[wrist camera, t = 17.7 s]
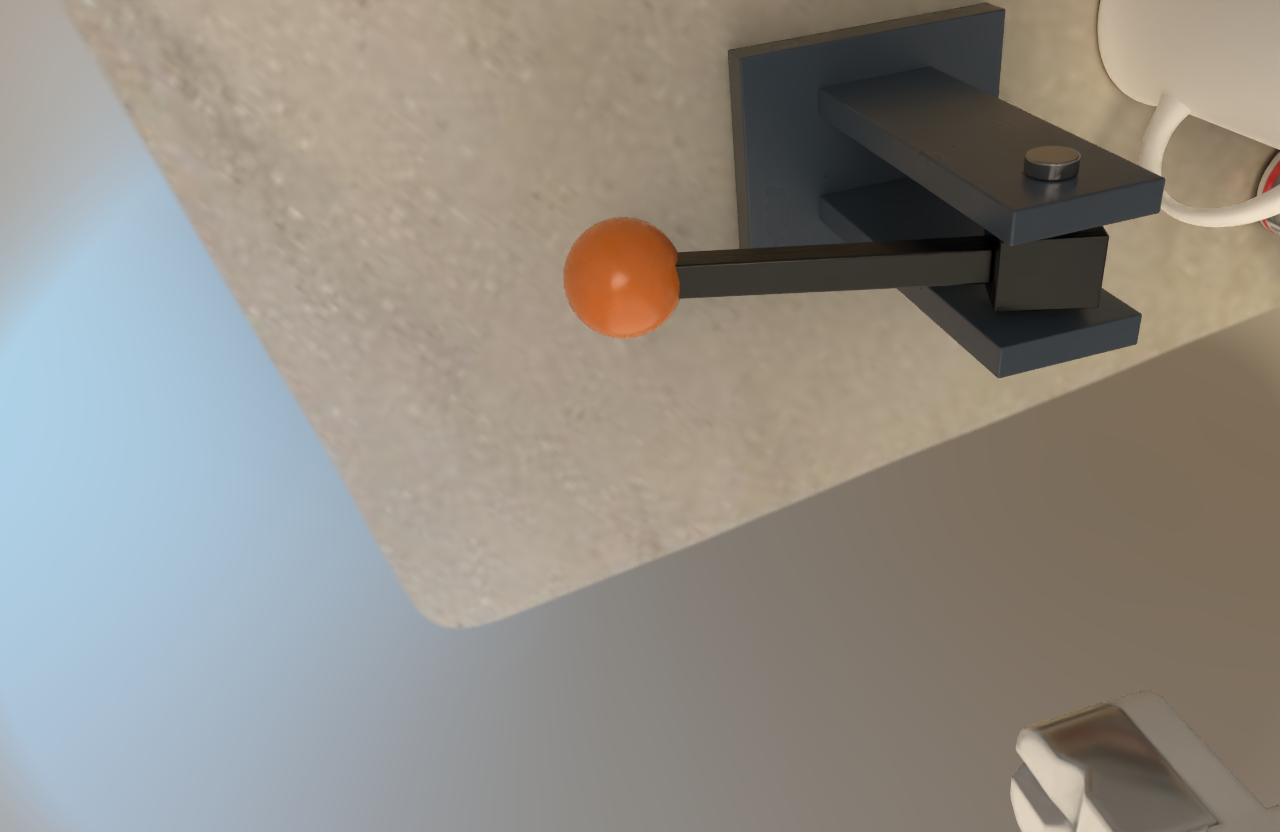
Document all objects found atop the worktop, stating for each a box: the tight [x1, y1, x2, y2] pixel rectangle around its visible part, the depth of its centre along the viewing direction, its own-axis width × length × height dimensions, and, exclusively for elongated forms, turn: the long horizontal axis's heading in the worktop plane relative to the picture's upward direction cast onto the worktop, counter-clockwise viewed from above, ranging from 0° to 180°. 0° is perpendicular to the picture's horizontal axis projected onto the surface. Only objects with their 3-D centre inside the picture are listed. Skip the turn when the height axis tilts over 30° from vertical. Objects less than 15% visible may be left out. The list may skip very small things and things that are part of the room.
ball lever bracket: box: [728, 3, 1165, 378], centre depth 34 cm, size 10×8×14 cm
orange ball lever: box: [564, 217, 1109, 338], centre depth 30 cm, size 15×4×4 cm, turn 96°
